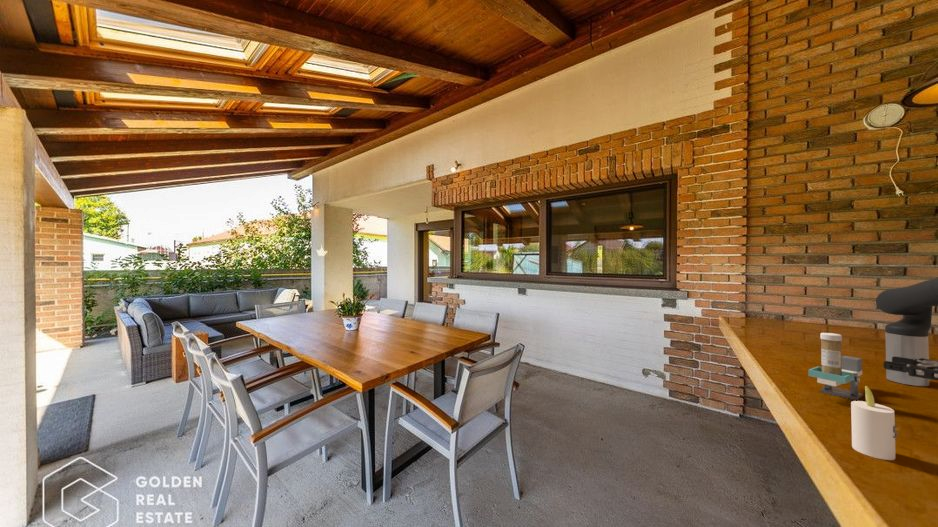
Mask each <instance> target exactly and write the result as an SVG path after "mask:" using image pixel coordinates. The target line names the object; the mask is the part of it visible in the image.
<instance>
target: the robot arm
mask: <svg viewBox="0 0 938 527" xmlns="http://www.w3.org/2000/svg"><path fill="white" fill-rule="evenodd" d="M875 304H876V307H877V308H878V309H879V310H880V311H882V312H883V313H885V314H888V315H895V316H903V317H902V318H901V319H900V320H897V321H894V322H890V323H887V324H886V325H885V333H884V334H885V335H884V336H885V360H884V361H883V368H884V370H885V374H886V376H885V378H886V379H887V380H888V381H891V382H895V383H898V384H903V385H910V386H915V387H916V386H917V387H929V386H930V380H931V381H936V382H937V381H938V360H934V359H930V351H929V350H930V349H929V348H930V346H929V332H930V330H931V328H932V317H933V307H938V276H937V277H935V278H931V279H927V280H925V281H924V280H923V281H921V282H917V283H915V284H912V285H908V286H903V287H902V286H901V287H896V288H890V289H889V288H888V289H886V290H883V291H880V293H879V294H878V295H877V296H876V298H875Z"/></svg>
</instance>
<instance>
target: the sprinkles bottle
mask: <svg viewBox="0 0 938 527" xmlns="http://www.w3.org/2000/svg"><path fill="white" fill-rule="evenodd" d="M820 340H821V341H820V342H821V343H820V345H821V346H820V347H821V348H820V352H821V355H820V356H821V357H820V361H821V363H820V364H821V367H822V372H824V373H830V374H835V375H840V376H842V356H843V355H842V341H843V336H842V334H839V333H832V332H821V333H820Z"/></svg>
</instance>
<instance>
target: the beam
mask: <svg viewBox="0 0 938 527" xmlns="http://www.w3.org/2000/svg"><path fill="white" fill-rule="evenodd" d="M807 371H808V374H807V375H808V377H813V378H816V379H817V380H816V383H818V384H822V385H824V384H826V385H831V386H832V387H835V388H837V387H838V386H841V385H843V384H844V385H846V384H848V383H850V381H853V380H854V373H857V374H858V377H861V376H862V375H863V358H861V357H855V356H851V355H850V356H849V355H842V376H840V375H835V374H830V373H824V372H822V366H815V367H811V368H809V369H808V370H807Z"/></svg>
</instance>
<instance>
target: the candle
mask: <svg viewBox="0 0 938 527" xmlns="http://www.w3.org/2000/svg"><path fill="white" fill-rule="evenodd" d="M864 393H865V395H864V396H865V401H863V400H857V401H856V400H853V401H851V402H850V412H851V414H850V416H851V447H852V449H853V450H855V451H856V452H858V453H860V454H863V455H865V456H868V457H871V458H873V459H874V458H875V459H878V460H879V459H880V460H884V461H895V460H896V439H897V437H898V431H897V430H896V428H898V425H895V424H896V423H895V422H896V421H895V420H896V419H895V410H894V409H892V408H891V407H888V406H886V405H883V404H879V403H876V402H875V397H874V395H873V392H872V390H871V389H870V388H869V386H868V385H864Z"/></svg>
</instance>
